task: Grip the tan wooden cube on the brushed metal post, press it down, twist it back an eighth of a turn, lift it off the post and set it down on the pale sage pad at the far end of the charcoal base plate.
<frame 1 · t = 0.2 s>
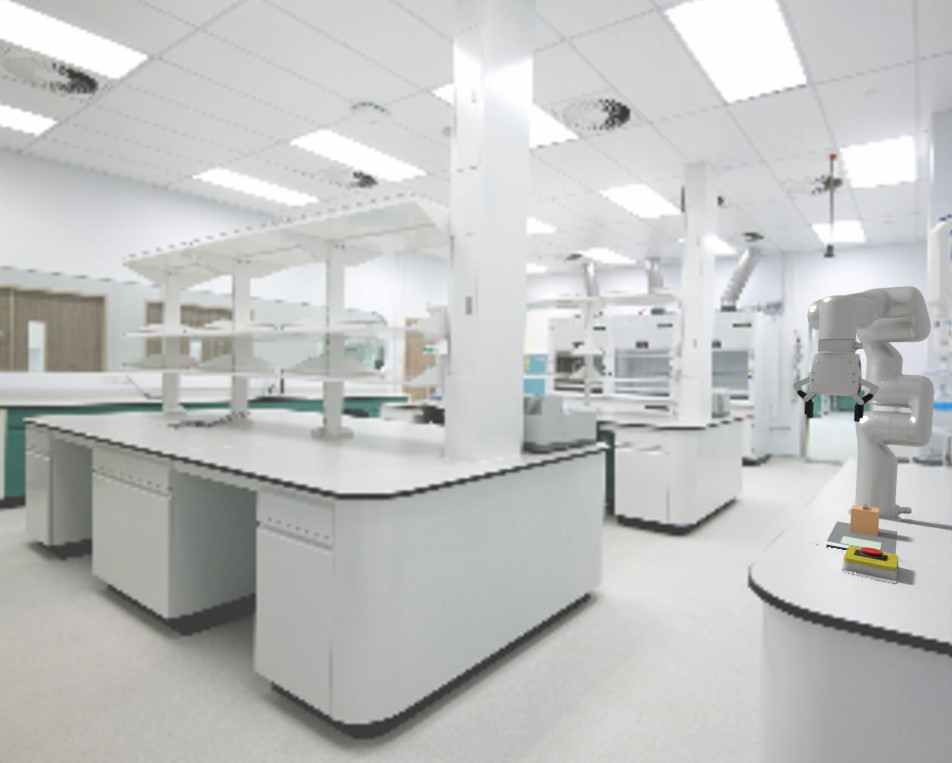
hand: (832, 419, 130), 31 cm above the table, tool pointing down, fingers open, 9 cm apart
base plate: (862, 542, 136), on the table
emergency button: (870, 572, 117), on the table
tan wooden cube: (864, 531, 140), point 1 cm above the table, touching base plate
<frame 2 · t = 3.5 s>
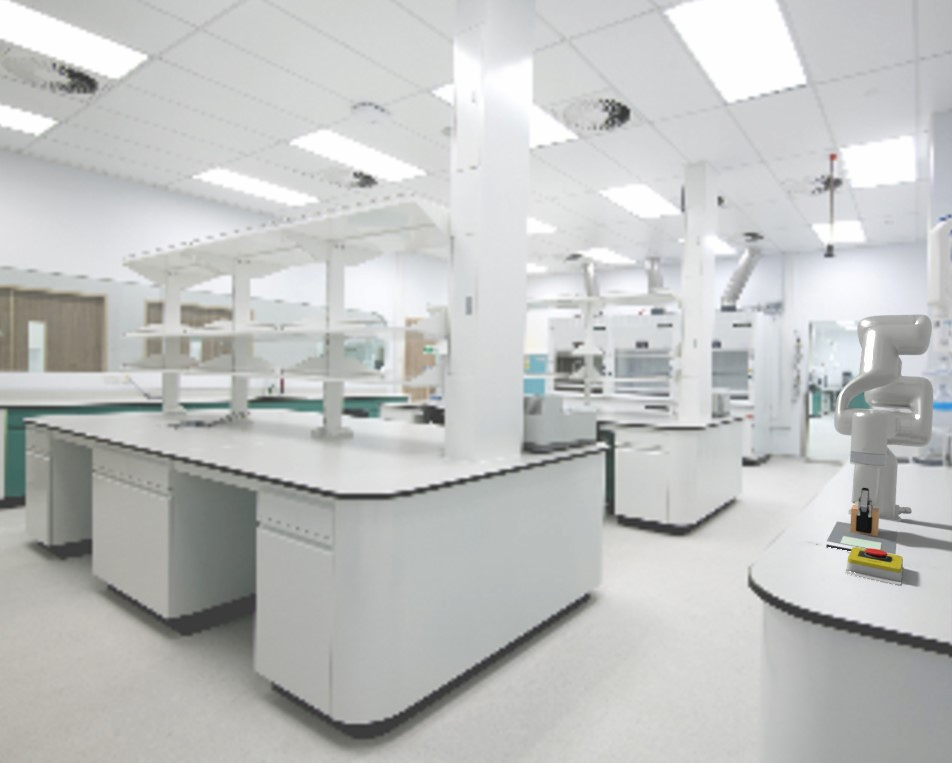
hand: (864, 528, 140), 2 cm above the table, tool pointing down, fingers closed on tan wooden cube, 5 cm apart
tan wooden cube: (864, 531, 140), point 2 cm above the table, touching base plate, gripper
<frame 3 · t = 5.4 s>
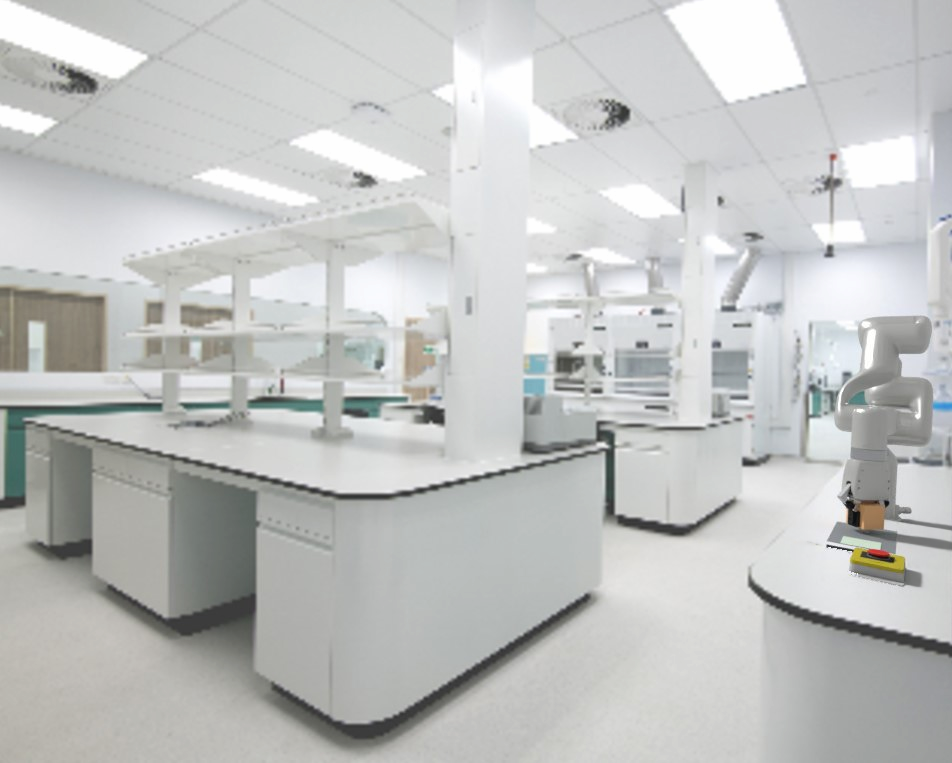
hand: (864, 525, 140), 3 cm above the table, tool pointing down, fingers closed on tan wooden cube, 5 cm apart
tan wooden cube: (864, 526, 140), point 3 cm above the table, touching gripper
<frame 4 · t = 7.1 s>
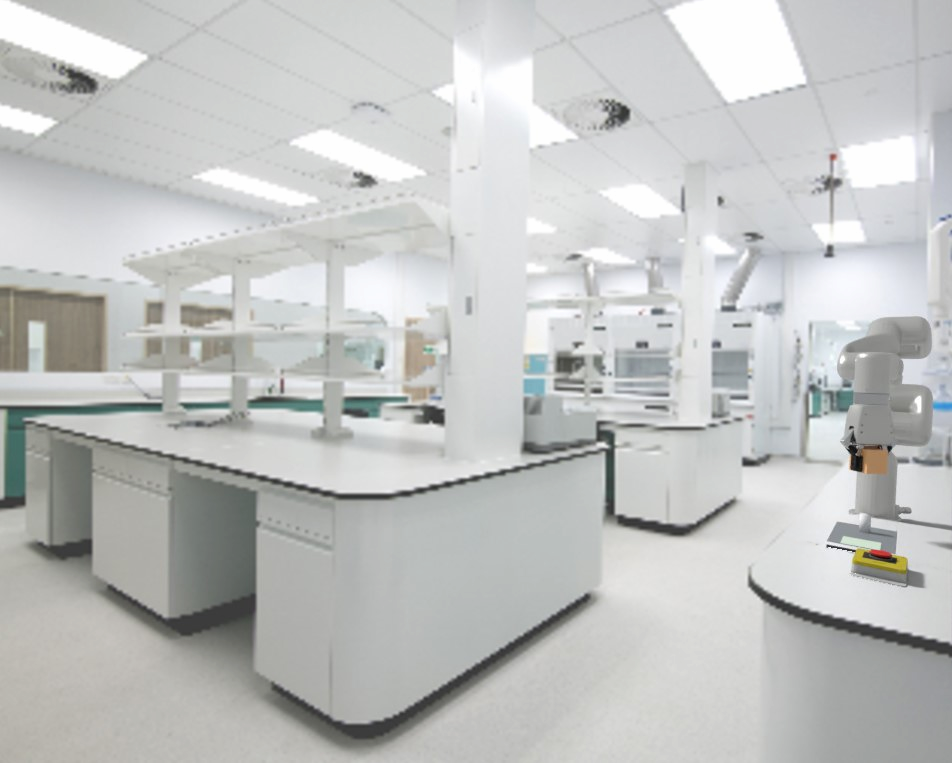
hand: (867, 470, 140), 17 cm above the table, tool pointing down, fingers closed on tan wooden cube, 5 cm apart
tan wooden cube: (867, 471, 140), point 17 cm above the table, touching gripper
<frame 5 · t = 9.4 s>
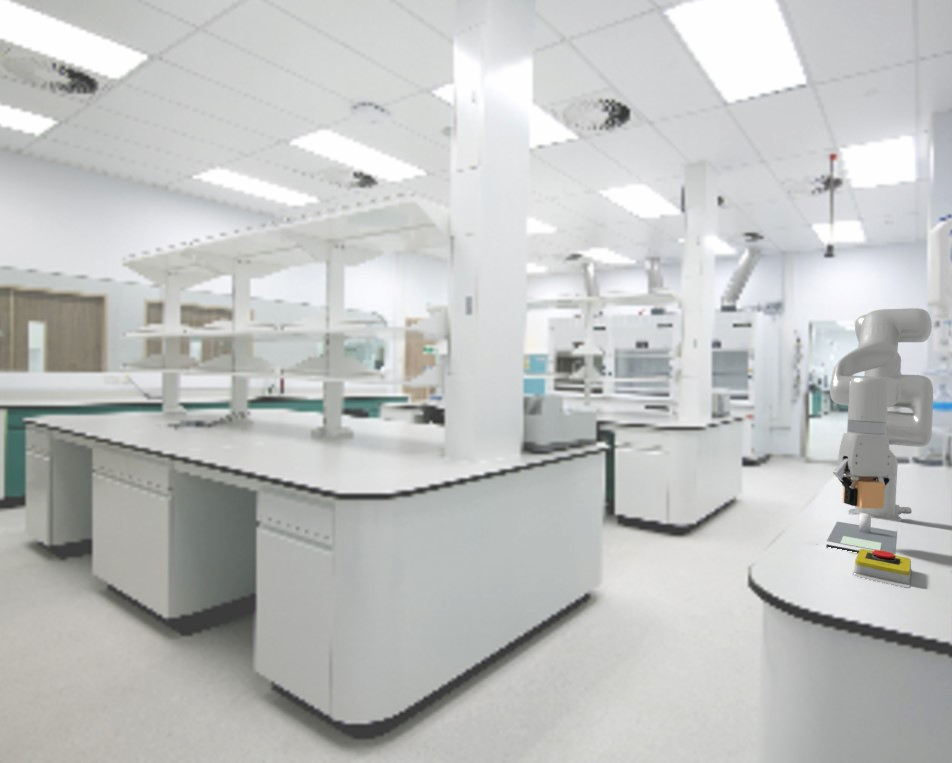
hand: (862, 504, 129), 11 cm above the table, tool pointing down, fingers closed on tan wooden cube, 5 cm apart
tan wooden cube: (862, 505, 129), point 11 cm above the table, touching gripper
when the fingers open (3 cm above the table, at t = 11.1 s): tan wooden cube drops 2 cm, resting on base plate.
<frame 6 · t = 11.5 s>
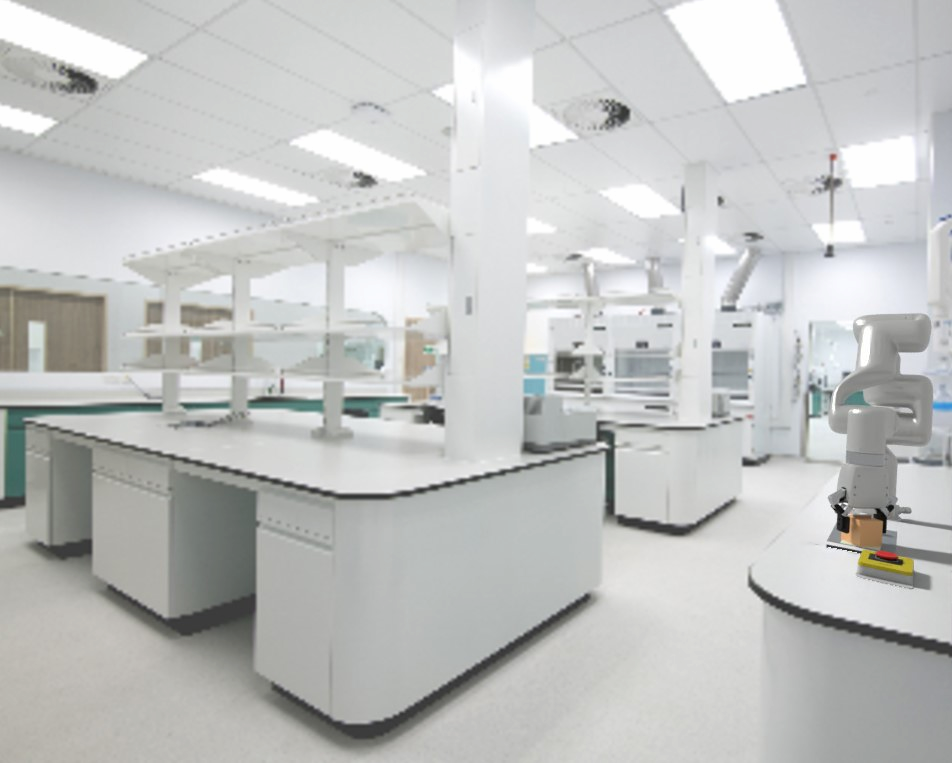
hand: (861, 531, 130), 4 cm above the table, tool pointing down, fingers open, 9 cm apart
tan wooden cube: (860, 542, 130), point 2 cm above the table, touching base plate
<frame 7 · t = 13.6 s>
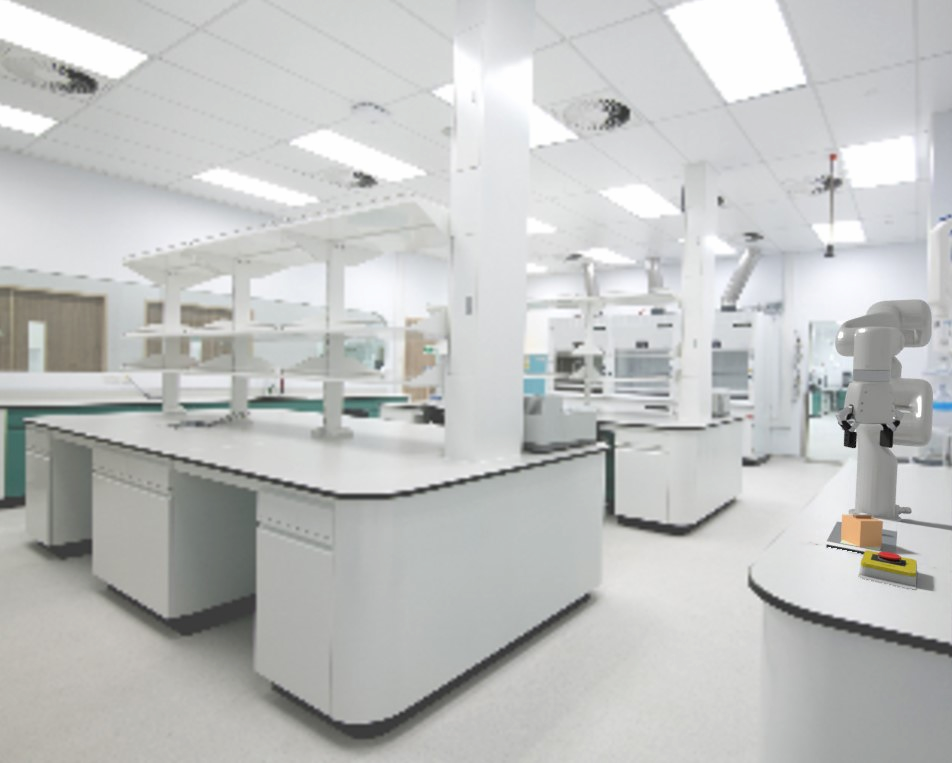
hand: (867, 447, 134), 24 cm above the table, tool pointing down, fingers open, 9 cm apart
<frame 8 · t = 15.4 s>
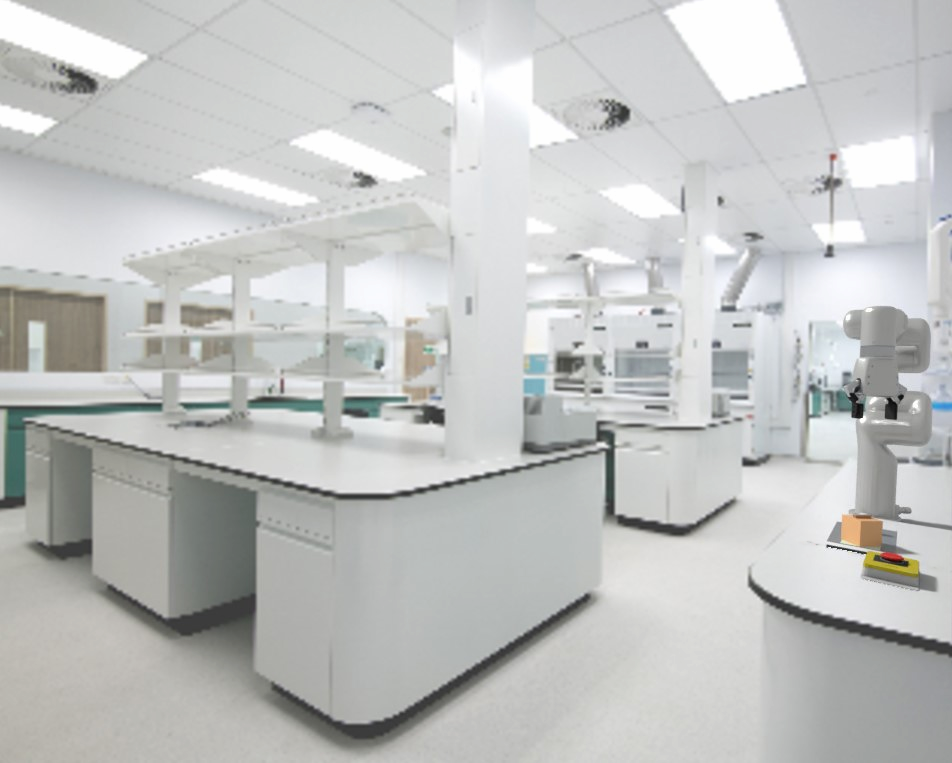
hand: (873, 418, 144), 30 cm above the table, tool pointing down, fingers open, 9 cm apart
at the end: tan wooden cube 0.0 cm from the target spot, point 1.6 cm above the table; tan wooden cube tilted 0°; the gripper is holding nothing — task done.
